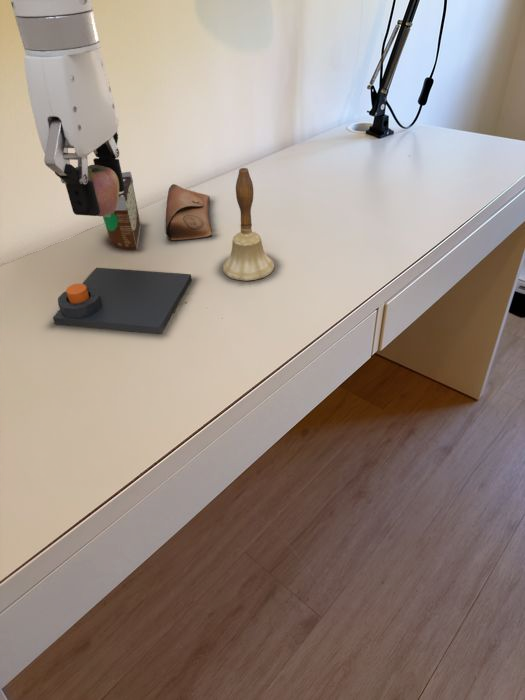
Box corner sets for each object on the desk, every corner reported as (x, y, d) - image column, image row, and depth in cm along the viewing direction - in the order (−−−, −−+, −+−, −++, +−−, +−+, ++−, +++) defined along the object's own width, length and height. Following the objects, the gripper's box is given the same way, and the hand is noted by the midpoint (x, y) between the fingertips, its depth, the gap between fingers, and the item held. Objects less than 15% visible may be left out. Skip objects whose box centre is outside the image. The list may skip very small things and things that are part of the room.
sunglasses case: (215, 234, 93) (191, 205, 89) (183, 255, 95) (159, 228, 91) (210, 194, 107) (189, 168, 103) (183, 214, 109) (161, 188, 105)
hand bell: (243, 250, 89) (236, 155, 79) (284, 263, 85) (282, 165, 75) (212, 272, 84) (200, 173, 74) (254, 286, 80) (247, 185, 70)
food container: (108, 225, 99) (95, 173, 93) (141, 222, 100) (130, 170, 93) (100, 257, 90) (85, 201, 83) (136, 254, 90) (124, 198, 84)
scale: (55, 324, 75) (48, 307, 73) (97, 273, 85) (93, 257, 84) (161, 334, 72) (157, 316, 70) (191, 280, 83) (189, 263, 81)
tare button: (65, 303, 74) (62, 293, 73) (74, 292, 76) (71, 282, 75) (83, 305, 74) (80, 294, 73) (92, 294, 76) (89, 284, 75)
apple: (65, 229, 62) (51, 180, 58) (83, 201, 68) (71, 155, 64) (116, 227, 62) (105, 178, 58) (129, 199, 68) (120, 153, 64)
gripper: (68, 21, 61) (103, 174, 72) (-26, 50, 48) (35, 232, 59) (128, 20, 59) (155, 177, 71) (48, 50, 46) (97, 236, 58)
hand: (100, 200), depth 65 cm, fingers closed on apple, 6 cm apart
